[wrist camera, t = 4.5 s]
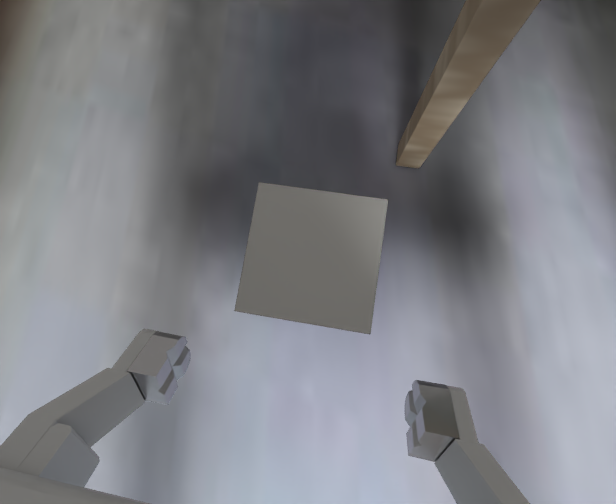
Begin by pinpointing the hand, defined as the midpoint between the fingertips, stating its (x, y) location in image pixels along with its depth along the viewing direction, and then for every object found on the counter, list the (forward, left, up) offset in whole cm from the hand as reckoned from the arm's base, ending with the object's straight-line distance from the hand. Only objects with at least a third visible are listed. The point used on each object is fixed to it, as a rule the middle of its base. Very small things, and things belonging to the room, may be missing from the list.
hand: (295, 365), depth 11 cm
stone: (0, +4, -8) cm, 9 cm away
